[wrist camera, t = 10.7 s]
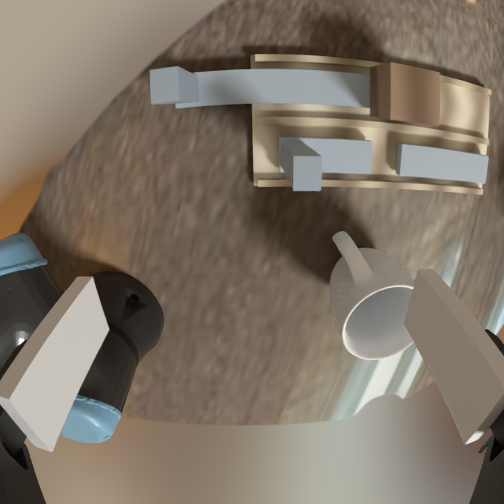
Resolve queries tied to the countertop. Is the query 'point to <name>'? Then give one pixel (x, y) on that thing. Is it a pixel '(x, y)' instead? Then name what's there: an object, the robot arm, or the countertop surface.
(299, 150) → the broken strip
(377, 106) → the walnut block
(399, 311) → the mug
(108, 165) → the countertop surface
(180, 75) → the strip
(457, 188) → the lane board
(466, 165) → the broken strip
